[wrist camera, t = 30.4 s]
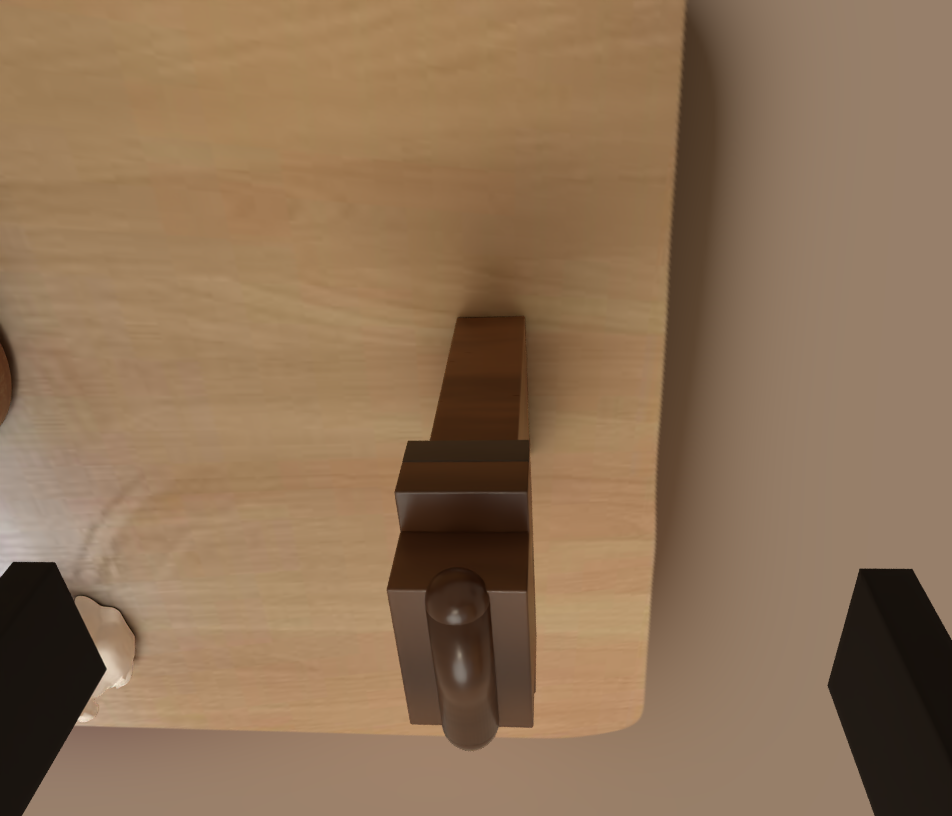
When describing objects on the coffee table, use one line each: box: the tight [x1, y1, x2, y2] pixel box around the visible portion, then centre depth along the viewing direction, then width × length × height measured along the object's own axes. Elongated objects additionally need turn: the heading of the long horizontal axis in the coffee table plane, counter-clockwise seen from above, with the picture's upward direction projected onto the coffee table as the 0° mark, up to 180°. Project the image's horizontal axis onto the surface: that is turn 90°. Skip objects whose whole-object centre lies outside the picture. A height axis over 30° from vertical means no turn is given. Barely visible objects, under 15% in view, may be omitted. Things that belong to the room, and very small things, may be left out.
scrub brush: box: [387, 440, 536, 751], centre depth 33 cm, size 12×5×8 cm, turn 4°
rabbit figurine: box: [75, 596, 135, 722], centre depth 58 cm, size 12×8×10 cm, turn 21°
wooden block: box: [430, 316, 529, 441], centre depth 42 cm, size 10×4×14 cm, turn 4°
